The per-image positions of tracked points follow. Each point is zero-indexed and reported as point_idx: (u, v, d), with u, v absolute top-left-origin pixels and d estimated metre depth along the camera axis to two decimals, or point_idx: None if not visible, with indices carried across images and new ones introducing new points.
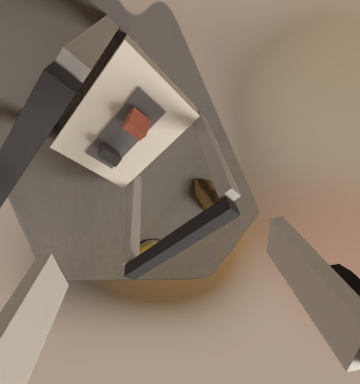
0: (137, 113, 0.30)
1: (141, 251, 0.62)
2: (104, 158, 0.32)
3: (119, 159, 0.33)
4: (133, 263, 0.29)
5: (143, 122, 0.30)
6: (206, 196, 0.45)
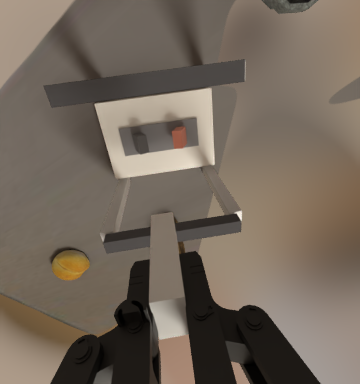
0: (184, 131, 0.37)
1: (61, 258, 0.52)
2: (139, 141, 0.35)
3: (148, 151, 0.36)
4: (119, 235, 0.28)
5: (184, 139, 0.37)
6: None
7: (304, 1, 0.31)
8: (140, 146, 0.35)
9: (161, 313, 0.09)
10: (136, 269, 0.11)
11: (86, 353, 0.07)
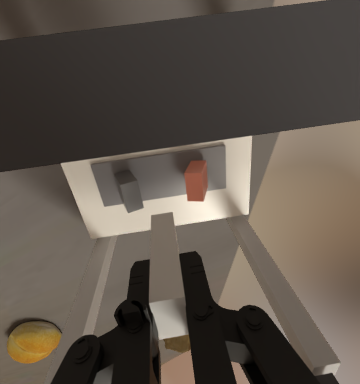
0: (205, 169, 0.21)
1: (18, 337, 0.36)
2: (125, 192, 0.19)
3: (141, 206, 0.20)
4: None
5: (205, 183, 0.22)
6: None
7: None
8: (127, 200, 0.20)
9: (161, 313, 0.09)
10: (136, 268, 0.11)
11: (86, 353, 0.07)
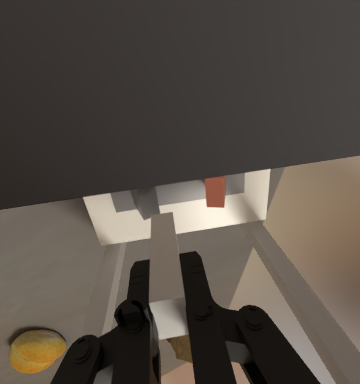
0: None
1: (20, 347, 0.35)
2: (142, 198, 0.18)
3: (157, 212, 0.19)
4: None
5: (225, 188, 0.20)
6: None
7: None
8: (143, 206, 0.18)
9: (161, 313, 0.09)
10: (136, 269, 0.11)
11: (86, 353, 0.07)
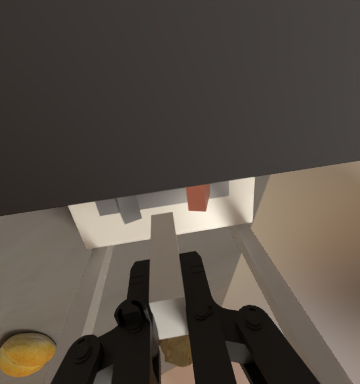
0: None
1: (9, 350, 0.35)
2: (121, 202, 0.18)
3: (139, 216, 0.19)
4: None
5: (207, 191, 0.20)
6: None
7: None
8: (124, 210, 0.18)
9: (161, 313, 0.09)
10: (136, 269, 0.11)
11: (86, 353, 0.07)
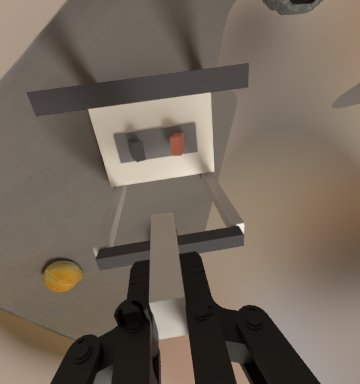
0: (183, 137, 0.36)
1: (52, 269, 0.50)
2: (135, 148, 0.33)
3: (144, 158, 0.35)
4: (113, 250, 0.26)
5: (183, 146, 0.36)
6: None
7: (307, 2, 0.30)
8: (136, 153, 0.34)
9: (161, 313, 0.09)
10: (136, 269, 0.11)
11: (86, 353, 0.07)
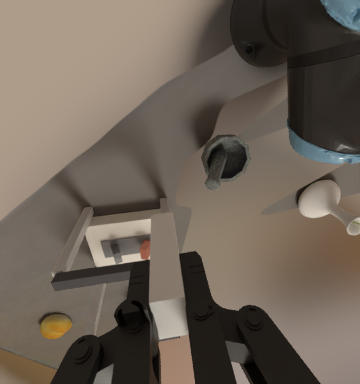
0: None
1: (48, 323, 0.63)
2: (115, 257, 0.48)
3: (121, 261, 0.49)
4: None
5: (149, 251, 0.51)
6: None
7: (231, 171, 0.46)
8: (115, 259, 0.48)
9: (161, 313, 0.09)
10: (136, 269, 0.11)
11: (86, 353, 0.07)
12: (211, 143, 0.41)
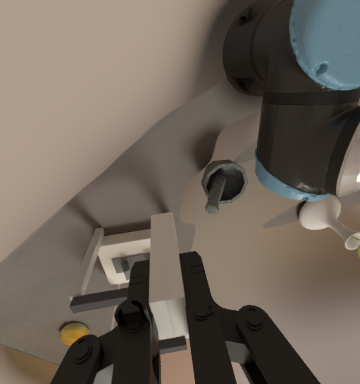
0: None
1: (67, 331, 0.69)
2: (125, 274, 0.52)
3: None
4: None
5: None
6: None
7: (230, 192, 0.49)
8: (126, 276, 0.53)
9: (161, 313, 0.09)
10: (136, 269, 0.11)
11: (86, 353, 0.07)
12: (209, 170, 0.44)
